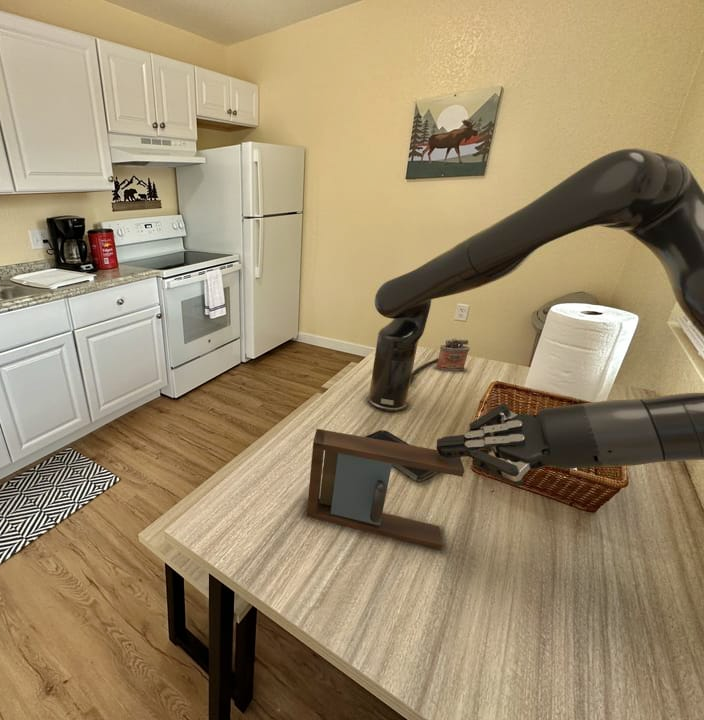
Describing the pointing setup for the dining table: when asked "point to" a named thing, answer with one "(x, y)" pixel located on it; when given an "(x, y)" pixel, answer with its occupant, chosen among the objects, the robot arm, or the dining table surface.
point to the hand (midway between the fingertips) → (438, 447)
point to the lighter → (453, 355)
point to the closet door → (360, 488)
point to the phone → (409, 471)
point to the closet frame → (381, 452)
